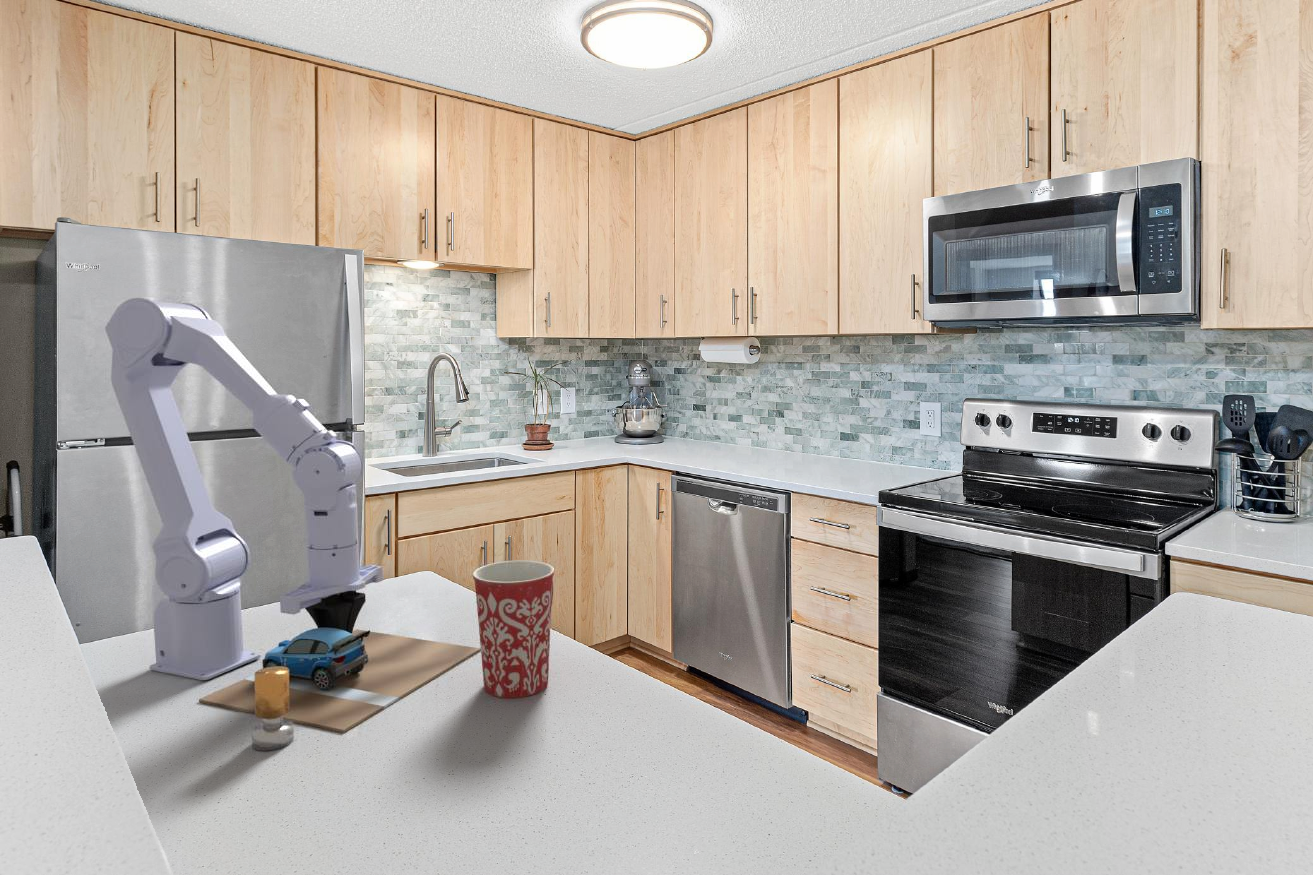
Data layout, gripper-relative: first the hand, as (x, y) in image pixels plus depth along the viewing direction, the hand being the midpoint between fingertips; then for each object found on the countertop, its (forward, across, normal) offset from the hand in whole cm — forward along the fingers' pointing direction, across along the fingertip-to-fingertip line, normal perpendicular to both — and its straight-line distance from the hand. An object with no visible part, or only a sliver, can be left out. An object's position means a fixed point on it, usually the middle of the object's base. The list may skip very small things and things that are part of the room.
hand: (337, 654), depth 95 cm
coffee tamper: (+2, -17, -8) cm, 19 cm away
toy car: (+2, -4, 0) cm, 4 cm away
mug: (+2, +5, -23) cm, 24 cm away
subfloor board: (+2, -1, -3) cm, 4 cm away
